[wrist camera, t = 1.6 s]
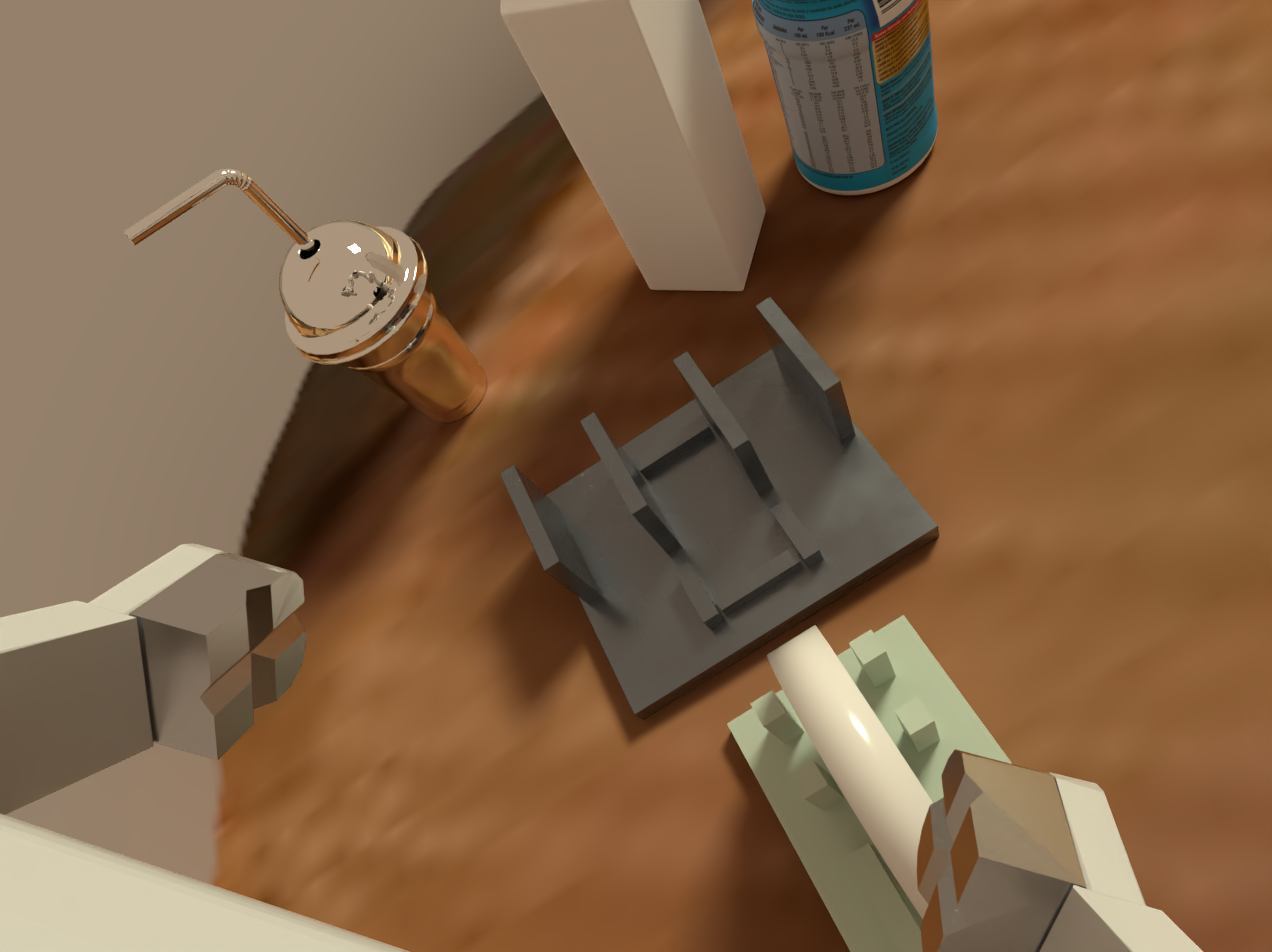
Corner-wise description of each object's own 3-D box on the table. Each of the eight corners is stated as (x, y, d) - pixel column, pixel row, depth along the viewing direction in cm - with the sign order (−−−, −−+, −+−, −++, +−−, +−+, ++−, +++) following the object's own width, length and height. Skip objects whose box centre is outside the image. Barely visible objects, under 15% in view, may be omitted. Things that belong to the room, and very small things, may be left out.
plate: (840, 667, 36) (790, 584, 27) (1009, 926, 30) (1017, 931, 21) (800, 691, 37) (737, 616, 27) (961, 954, 31) (948, 970, 21)
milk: (675, 214, 53) (509, -157, 35) (768, 211, 51) (640, -191, 32) (649, 293, 51) (457, -58, 33) (745, 294, 48) (593, -87, 30)
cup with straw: (526, 417, 50) (296, 169, 34) (396, 476, 52) (115, 268, 35) (503, 314, 55) (290, 51, 38) (384, 371, 56) (129, 143, 40)
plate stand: (905, 621, 37) (894, 584, 33) (1102, 891, 31) (1119, 888, 27) (732, 727, 38) (700, 704, 34) (888, 1014, 31) (873, 1030, 27)
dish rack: (790, 352, 46) (764, 280, 40) (939, 535, 38) (930, 477, 33) (543, 512, 47) (488, 462, 42) (643, 719, 40) (591, 690, 34)
